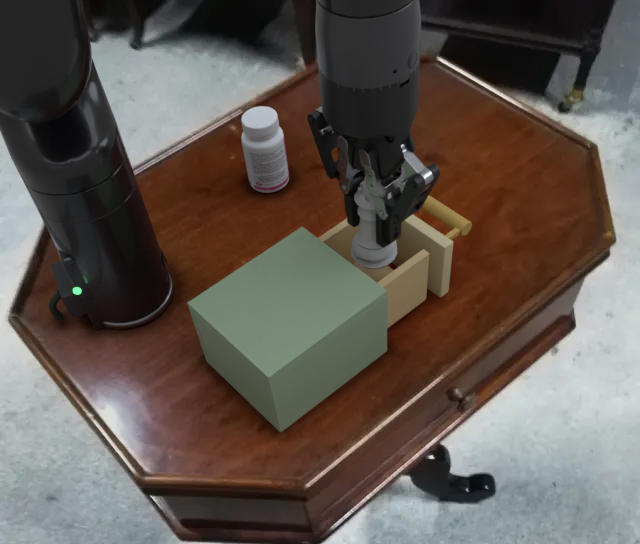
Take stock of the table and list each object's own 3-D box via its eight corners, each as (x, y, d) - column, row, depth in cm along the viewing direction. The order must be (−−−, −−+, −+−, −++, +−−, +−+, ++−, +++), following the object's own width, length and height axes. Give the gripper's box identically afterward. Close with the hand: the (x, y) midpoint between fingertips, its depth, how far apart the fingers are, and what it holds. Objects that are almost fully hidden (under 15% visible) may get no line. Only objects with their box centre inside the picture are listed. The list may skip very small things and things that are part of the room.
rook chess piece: (394, 273, 70) (394, 207, 63) (347, 269, 71) (342, 203, 64) (400, 240, 72) (401, 172, 66) (355, 236, 73) (351, 169, 66)
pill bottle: (298, 179, 87) (290, 115, 80) (267, 200, 86) (256, 136, 79) (271, 161, 89) (262, 98, 82) (241, 181, 88) (228, 118, 81)
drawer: (410, 217, 81) (412, 165, 75) (482, 266, 76) (490, 215, 71) (288, 303, 76) (280, 254, 70) (357, 361, 71) (355, 313, 65)
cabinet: (309, 288, 78) (302, 225, 71) (387, 351, 73) (387, 290, 65) (206, 361, 74) (186, 302, 66) (280, 433, 68) (268, 377, 61)
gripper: (268, 40, 57) (293, 216, 71) (400, 117, 50) (398, 293, 65) (341, -1, 59) (350, 177, 73) (476, 68, 53) (457, 248, 67)
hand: (373, 230), depth 69 cm, fingers closed on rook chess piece, 3 cm apart
